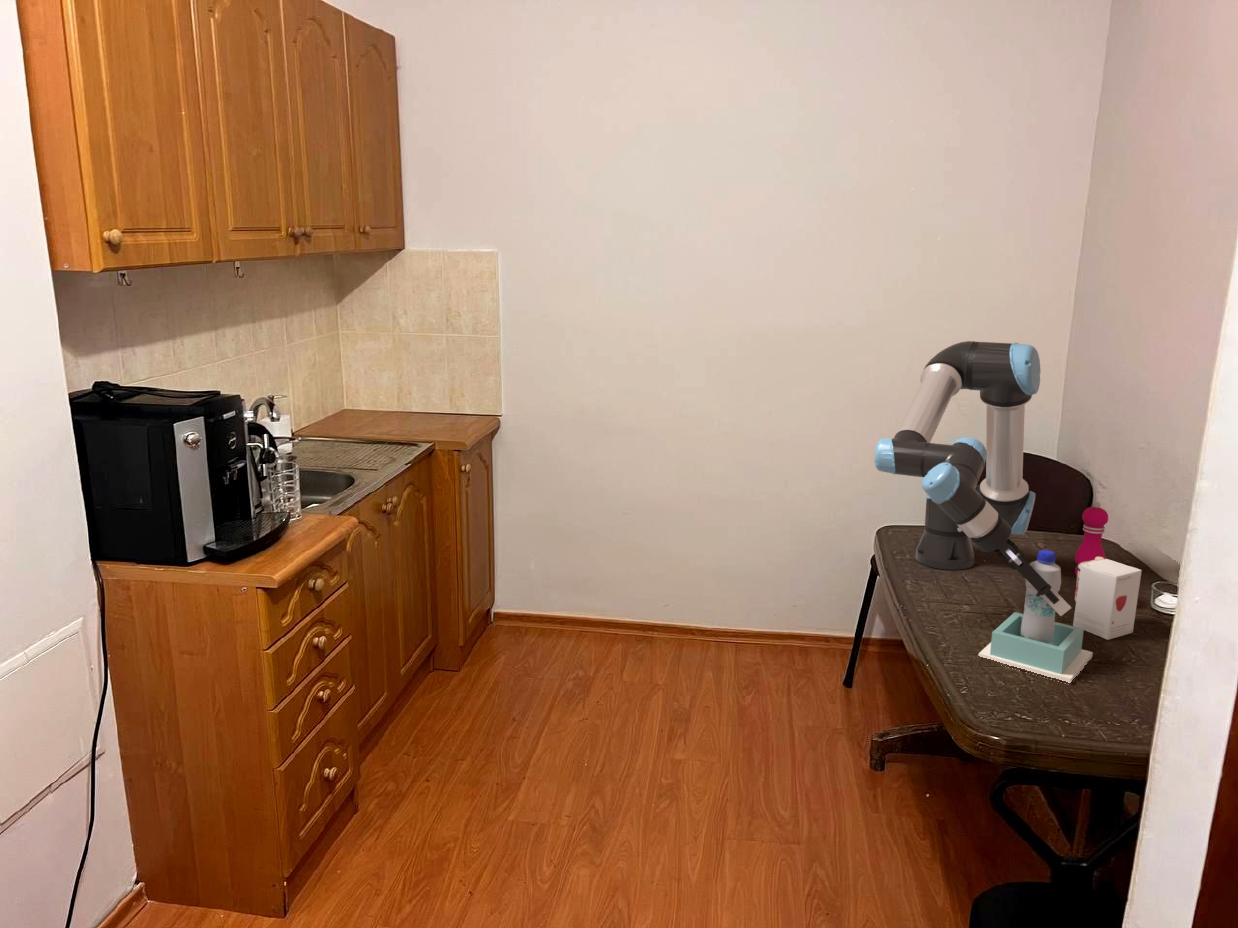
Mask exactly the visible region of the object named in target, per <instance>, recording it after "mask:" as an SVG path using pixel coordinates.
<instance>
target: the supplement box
mask: <svg viewBox="0 0 1238 928" xmlns="http://www.w3.org/2000/svg"><path fill="white" fill-rule="evenodd" d="M1142 571H1143V570H1142V569H1139V568H1137V567H1134V566H1129V565H1126V564H1124V563H1121V562H1117V561H1115V560H1111V559H1108V558H1106V559H1103V560H1099V561H1093V562H1090V563H1086V564H1082V565H1081V570H1080V577H1079V585H1078V592H1077V600H1076V601H1075V609H1074V615H1073V623H1072V626H1074V627H1078V628H1082V629H1084V632H1088V633H1090V634H1092V635H1094V636H1098V637H1100V638H1102V639H1105V640H1108V641H1109V640H1112V639H1115V638H1119V637H1122V636H1125V635H1129V634H1133V633H1134V625H1135V621H1136V620H1135V619H1136V611H1137V605H1138V598H1139V591H1140V585H1141V579H1142V577H1141V576H1142Z"/></svg>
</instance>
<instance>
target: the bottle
mask: <svg viewBox="0 0 1238 928" xmlns="http://www.w3.org/2000/svg"><path fill="white" fill-rule="evenodd" d="M1056 557H1057V556H1056V553H1055V552H1054V551H1053V550H1050V549H1049V550H1048V549H1041V550H1038V552H1037V555H1036V560H1034V561H1032V562H1030V563H1029V565H1030V566H1031V567H1032V568H1033V569H1034V570H1035V571H1036V572H1037V573H1038V574H1039V575H1040V576H1041V577H1042V578H1043V579H1044V580H1045V581H1046V582H1047V583H1048V584H1050V585H1051V587H1052V588H1053V589H1054V590H1055V591H1056V592H1057V593H1058V594H1059V592H1060V590H1061V585H1062V573H1061V571H1062V570H1061V566H1060V565H1058V564H1056ZM1024 584H1025V587H1026V589H1025V590H1026V591H1025V599H1024V600H1025V601H1024V607H1023V609H1024V610H1023V613H1022V614H1023V619H1022V625H1021V637H1024V638H1027V639H1031V640H1035V641H1039V642H1043V643H1047V644H1049V643H1050V642H1051V641H1052V639H1053V637H1054V629H1055V622H1056V621H1055V620H1056V619H1055V618H1056V613H1057V612H1056V611H1055V610H1054V609H1053V608H1052V607H1051V606H1050V605H1049V604H1048V603H1047V601H1046V600H1045V599H1044V598H1043V597H1042V596H1041V595H1040V596H1039V597H1037V596H1036V594H1037V593H1038V591H1037V590H1036V589H1035V588H1034V587H1033V586H1032V585H1031V584H1030V583H1029V582H1028V581H1027V579H1026V578H1025V583H1024Z"/></svg>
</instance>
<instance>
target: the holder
mask: <svg viewBox="0 0 1238 928" xmlns="http://www.w3.org/2000/svg"><path fill="white" fill-rule="evenodd" d="M1023 614H1024V613H1021V612H1016V611H1015V612H1013V613H1012V614H1011V615H1010V616H1009V617H1007V618H1006V619H1005V620H1004V621H1003V622H1001V624H1000V625H999V626H998V627H996V629H994V630H993V631H992V632H991V639H990V642H989V643H988V644H987V645H986V646H985V647H984V648H982V650H981V651H980V652H979V653H978V655H977V656H980V657H983V658H987V659H991V660H994V661H997V662H1000V663H1003V664H1007V665H1009V666H1014V667H1017V668H1021V669H1025V670H1027V671H1031V672H1034V673H1037V674H1041V675H1044V676H1047V677H1051V678H1056V679H1059V680H1062V681H1066V682H1068V683H1071V682H1072V680H1073V679H1074V678H1075V677H1076V676H1077V677H1078V676H1079V674H1080V673H1081V672H1082V671H1083V669H1084V668H1085V667H1086V666H1085V665H1087V664H1088V663H1089V662H1090V661H1091V660H1092V658H1093V655H1094V652H1093V651H1090V650H1086V649H1083V648H1082V647H1083V639H1084V638H1083V637H1084V632H1085V630H1084V629H1082V628H1078V627H1075V626H1073V625H1069V624H1066V623H1060V622H1058V621H1057V622H1056V621H1055V629H1054V637H1053V639H1052V641H1051V642H1050V643H1049V644H1047V643H1043V642H1039V641H1035V640H1031V639H1027V638H1024V637H1021V625H1022V619H1023ZM1089 660H1090V661H1089ZM1088 661H1089V662H1088ZM1087 662H1088V663H1087ZM1084 666H1085V667H1084ZM1080 671H1081V672H1080ZM1077 677H1076V678H1077ZM1076 678H1075V679H1076ZM1075 679H1074V680H1075ZM1074 680H1073V681H1074ZM1072 683H1073V682H1072ZM1072 683H1071V684H1072Z"/></svg>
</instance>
